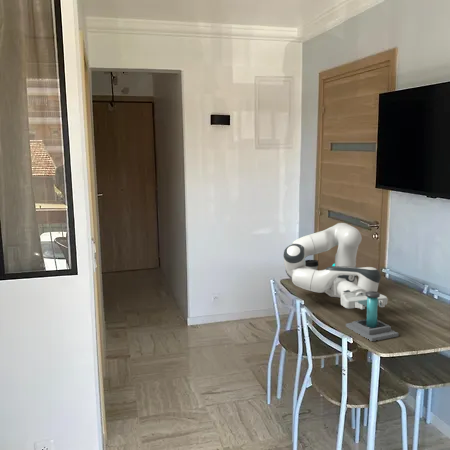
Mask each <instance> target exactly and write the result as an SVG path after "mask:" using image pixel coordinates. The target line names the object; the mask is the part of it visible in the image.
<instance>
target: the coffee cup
mask: <svg viewBox="0 0 450 450" xmlns="http://www.w3.org/2000/svg"><path fill="white" fill-rule="evenodd" d="M305 262H306V265H305V266H306V267H307V268H309V269H314V270H318V266H319V260H317V259H305Z"/></svg>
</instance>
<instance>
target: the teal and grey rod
mask: <svg viewBox="0 0 450 450" xmlns="http://www.w3.org/2000/svg"><path fill="white" fill-rule="evenodd" d="M380 294H381V293H380V292H378V291H377V292H374V291H368V292H366V293H365V295H366V296H367V307H366V319H367V322H366V324H365V327H367V328H369V329H373V328H378V327H379V326H378V325H377V320H378V297H380Z"/></svg>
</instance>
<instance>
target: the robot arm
mask: <svg viewBox="0 0 450 450" xmlns="http://www.w3.org/2000/svg"><path fill="white" fill-rule="evenodd" d="M362 237H363V236H362V234H361V232H360V230H359V229H358V228H356V227H355V226H352V225H350V224H349V223H346V222H337V223H336V224H334V225H332V226H330V227H328V228H326V229H324V230H320V231H317V232H314V233H310V234H307V235H304V236H301V237H299V238H297V239H295V240H293V241H292V242H291V244H290V245H288V246H286V247H285V249H284V250H283V265H284V268H285V273H286V275H287V277H288V278H290V280H291V282H292V283H293V285H295V286H296V287H298V288H301V289H303V290H306V291H310V292H314V293H319V294H320V293H321V294H322V293H325V294H326V295H327V296H329V297H331V298H340V305H341V306H343V307H344V308H345V309H355V308H357V309H360V310H365V309H366V308H367V296H366V295H365V293H366V292H368V291H374V292H378V290H379V285H380V282H381V279H382V275H381V272H380V271H379V269H378V268H376V267H372V266H366V267H365V266H364V267H361V266H358V267H357V254H358V250H359V246H360V244H361V242H362V241H363V240H362V239H363V238H362ZM336 246H337V250H336V253H335V255H334V263H335V266H332V265H331V266H330V265H329V266H327V267H326V268H325V269H321V270H314V269H309V268H307V267H306V266H305V265H306V262H305V260H306V258H307V257H310V256H314V255H318V254H321V253H323V252H328V251H330V250H331V249H332V248H334V247H336ZM387 304H388V297H387V296H386V295H384V294H381V293H380V297H378V306H379V307H380V308H385V306H387Z"/></svg>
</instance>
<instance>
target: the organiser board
mask: <svg viewBox="0 0 450 450" xmlns="http://www.w3.org/2000/svg"><path fill="white" fill-rule="evenodd" d="M366 322H367V318H366V319H365V318H364V319H358V320H352V322H347V323H345V328H348V329H349V330H351V331H352V330H353V331H352V332H354V333H355V334H357V333H358V335H359V334H360V335H359V336H361V337H363V338H364V337H365V339H366V338H367V339H366V340H368V339H369V340H370V342H371V341H373V342H377V341H376V340H378V341H382V340H388V339H393V338H397V337H399V332H398V331H395V330H393V329H392V325H391V326H390V325H389V324H388V323H385V322H383V321H381V320H379V319H377V325H378V326H379V327H378V328H373V329H369V328H367V327H365V324H366ZM369 340H368V341H369Z"/></svg>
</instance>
